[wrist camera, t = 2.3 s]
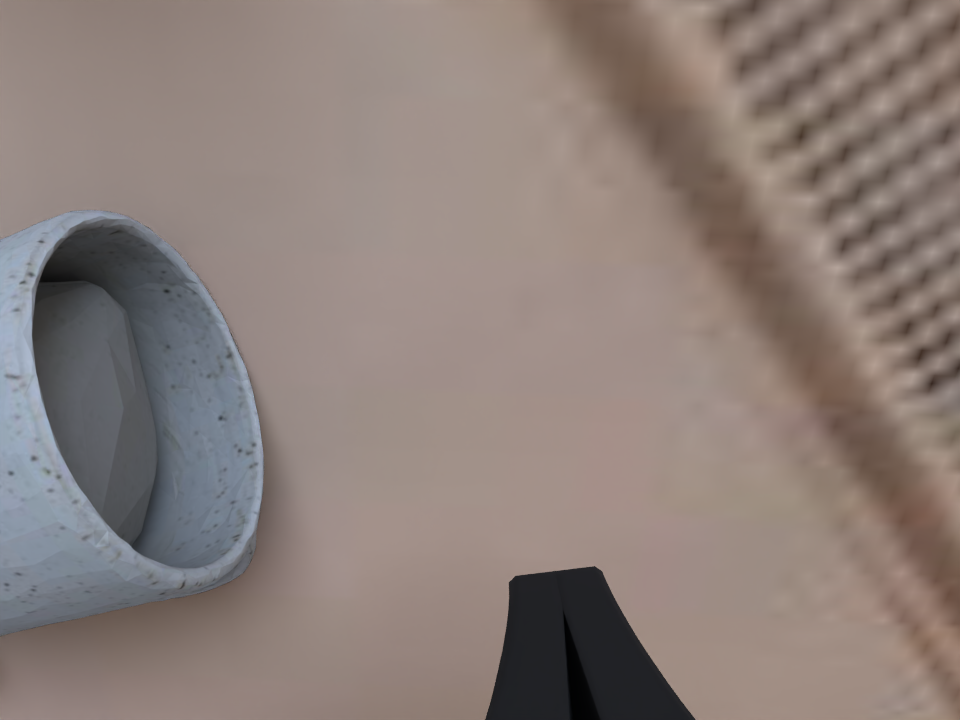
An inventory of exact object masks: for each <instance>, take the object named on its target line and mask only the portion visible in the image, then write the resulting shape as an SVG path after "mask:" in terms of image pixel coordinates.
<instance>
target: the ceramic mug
mask: <svg viewBox="0 0 960 720" xmlns="http://www.w3.org/2000/svg"><path fill="white" fill-rule="evenodd" d="M263 478H264V457H263V445H262V440H261V433H260V424H259V417H258V413H257V410H256V405H255V399H254V395H253V390H252V386H251V383H250V380H249V376H248V373H247V370H246V367H245V365H244V363H243V360H242V358H241V356H240V353H239V351H238V348H237V346H236V344H235V342H234V340H233V338H232V336H231V334H230V332H229V329H228V326H227V324H226V322H225V320H224V317H223V315H222V314H221V312H220V311H219V309H218V308H217V306H216V304H215V302H214V301H213V299H212V297H211V296H210V294H209V292H208V290H207V289H206V288H205V287H204V286H203V284H202V283H201V281H200V279H199V277H198V276H197V275H196V274H195V273H194V272H193V270H192V269H191V268H190V267H189V265H188V264H187V263H186V261H185V260H184V259H183V258H182V257H181V256H180V254H179V253H178V252H177V251H176V250H175V249H174V248H173V247H172V246H170V245H169V244H168V243H166V242H165V241H164V240H162V239H161V238H160V237H159V236H158V235H157V234H155V233H154V232H153V231H152V230H151V229H149V228H148V227H146V226H145V225H143V224H141V223H139V222H138V221H136V220H134V219H132V218H130V217H127V216H124V215H121V214H117V213H113V212H108V211H98V210H83V211H71V212H68V213H65V214H62V215H59V216H56V217H54V218H51V219H48V220H45V221H42V222H40V223H38V224H35V225H33V226H31V227H29V228H27V229H24V230H22V231H20V232H18V233H15V234H13V235H11V236H9V237H6V238H4V239H1V240H0V636H2V635H6V634H10V633H14V632H18V631H22V630H26V629H31V628H35V627H39V626H43V625H47V624H53V623H58V622H63V621H69V620H74V619H78V618H83V617H87V616H91V615H96V614H100V613H104V612H109V611H113V610H118V609H122V608H127V607H131V606H136V605H140V604H145V603H149V602H154V601H164V600H167V599H171V598H181V597H185V596H189V595H193V594H198V593H202V592H205V591H208V590H211V589H214V588H216V587H219V586H221V585H223V584H225V583H228V582H230V581H232V580H233V579H235V578H237V577H238V576H240V575H241V574H242V573H244V571H245V570H246V568H247V567H248V565H249V564H250V562H251V560H252V557H253V554H254V551H255V549H256V529H257V525H258V520H259V515H260V509H261V502H262V495H263Z"/></svg>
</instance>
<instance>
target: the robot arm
mask: <svg viewBox="0 0 960 720" xmlns="http://www.w3.org/2000/svg"><path fill="white" fill-rule="evenodd" d="M485 720H695V718H694V717H693V716H692V715H691V713H690V712H689V711H688V709H687V708H686V707H685V706H684V704H683V703H682V702H681V700H680V699H679V698H678V696H677V695H676V693H675V692H674V691H673V689H672V688H671V687H670V685H669V684H668V683H667V681H666V680H665V678H664V677H663V675H662V674H661V672H660V671H659V669H658V668H657V667H656V665H655V664H654V662H653V661H652V659H651V658H650V656H649V655H648V653H647V652H646V650H645V649H644V647H643V646H642V644H641V643H640V641H639V640H638V638H637V636H636V635H635V633H634V631H633V630H632V628H631V626H630V625H629V623H628V621H627V620H626V618H625V616H624V615H623V613H622V611H621V609H620V607H619V606H618V604H617V602H616V600H615V598H614V596H613V594H612V592H611V590H610V588H609V586H608V584H607V582H606V580H605V577H604V575H603V572H602V571H601V570H599V569H598V568H596V567H595V566H594V567H586V568H578V569H569V570H561V571H553V572H545V573H536V574H528V575H520V576H515V577H514V578H513V579H512V580H511V581H510V582H509V610H508V620H507V627H506V633H505V639H504V645H503V651H502V656H501V660H500V664H499V669H498V673H497V678H496V682H495V686H494V691H493V695H492V699H491V702H490V706H489V709H488V712H487V716H486V719H485Z"/></svg>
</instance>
